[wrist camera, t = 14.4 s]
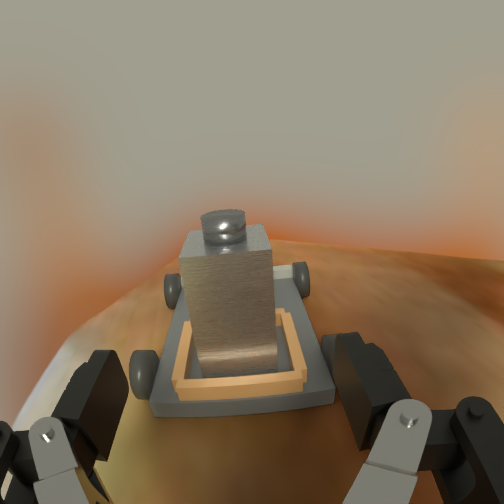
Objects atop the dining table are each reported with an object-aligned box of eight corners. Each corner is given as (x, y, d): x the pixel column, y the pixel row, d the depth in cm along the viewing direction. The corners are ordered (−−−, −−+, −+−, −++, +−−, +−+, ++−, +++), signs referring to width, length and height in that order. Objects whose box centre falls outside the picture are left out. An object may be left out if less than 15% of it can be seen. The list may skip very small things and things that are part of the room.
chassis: (175, 295, 35) (169, 266, 34) (301, 283, 36) (301, 254, 34) (138, 416, 19) (121, 379, 17) (350, 400, 19) (357, 361, 18)
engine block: (207, 339, 25) (186, 209, 21) (269, 333, 25) (260, 202, 21) (203, 382, 20) (174, 231, 16) (278, 375, 20) (270, 221, 16)
